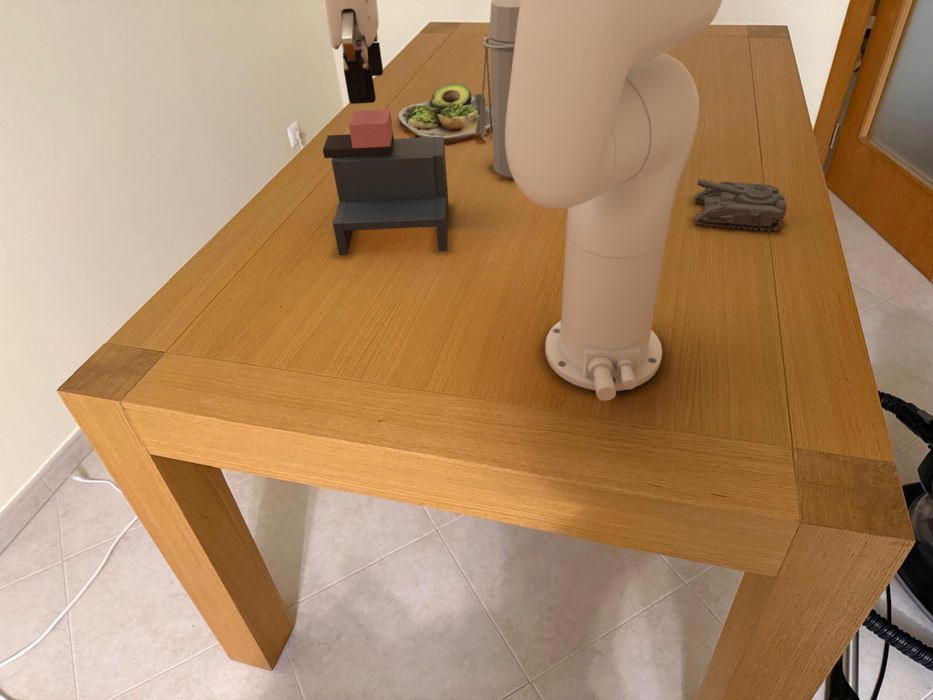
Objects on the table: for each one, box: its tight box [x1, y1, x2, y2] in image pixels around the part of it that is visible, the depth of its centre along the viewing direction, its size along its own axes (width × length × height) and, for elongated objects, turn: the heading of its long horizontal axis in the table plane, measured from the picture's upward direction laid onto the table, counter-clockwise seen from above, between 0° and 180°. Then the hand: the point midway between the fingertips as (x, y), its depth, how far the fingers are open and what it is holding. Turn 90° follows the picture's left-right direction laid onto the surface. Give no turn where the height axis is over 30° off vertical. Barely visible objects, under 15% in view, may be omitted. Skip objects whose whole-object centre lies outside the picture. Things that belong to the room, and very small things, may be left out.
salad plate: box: [397, 83, 493, 144], centre depth 122 cm, size 19×18×5 cm
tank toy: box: [694, 178, 788, 232], centre depth 94 cm, size 12×10×5 cm
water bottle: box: [480, 0, 521, 180], centre depth 101 cm, size 9×8×25 cm
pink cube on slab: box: [322, 108, 395, 159], centre depth 91 cm, size 9×5×4 cm, turn 90°
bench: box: [331, 137, 450, 256], centre depth 93 cm, size 12×15×11 cm
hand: (367, 88), depth 86 cm, fingers open, 9 cm apart
